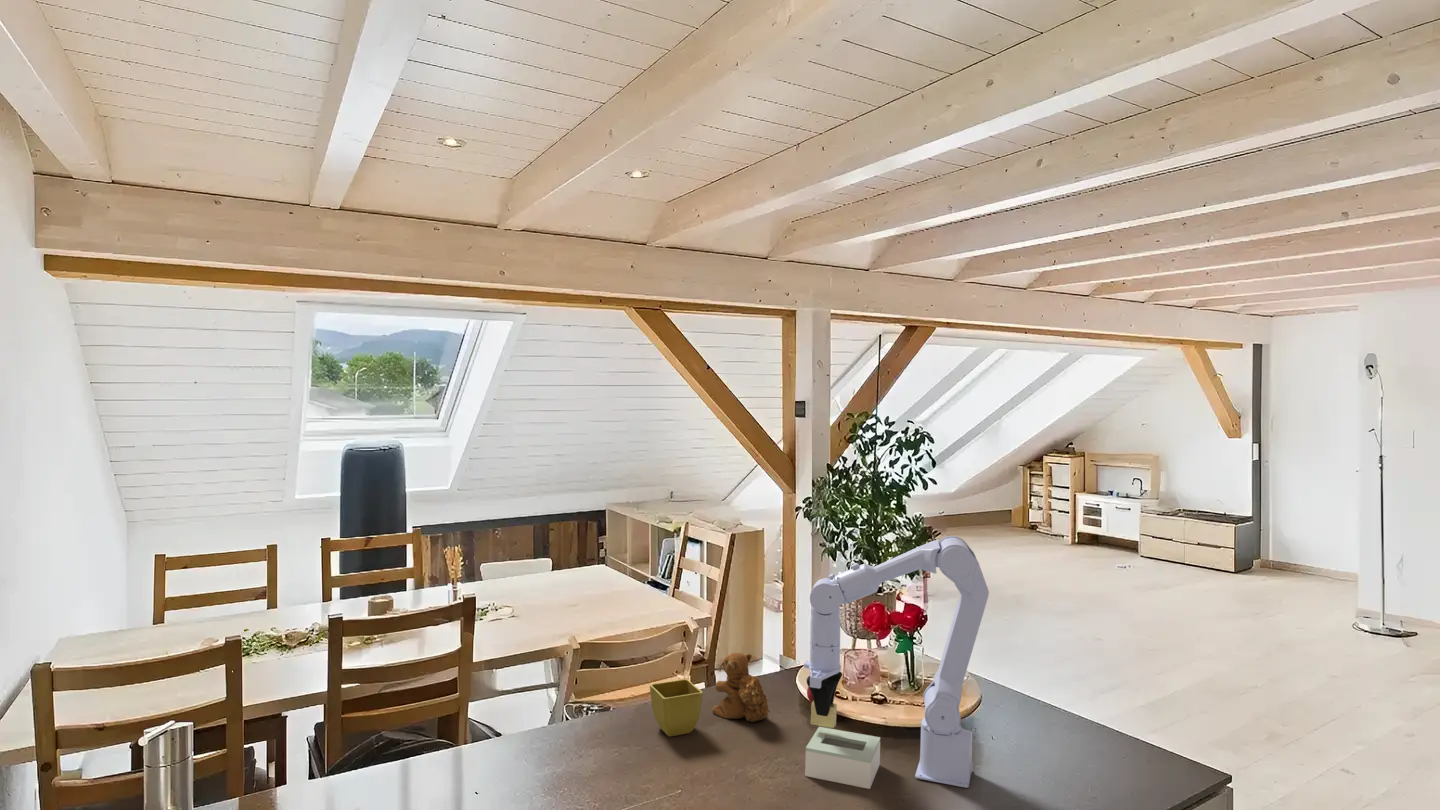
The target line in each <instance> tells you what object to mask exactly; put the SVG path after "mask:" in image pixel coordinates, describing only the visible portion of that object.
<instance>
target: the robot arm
mask: <svg viewBox="0 0 1440 810" xmlns="http://www.w3.org/2000/svg"><path fill="white" fill-rule="evenodd" d="M937 568H939V570H940V572H941V573H942V574H943V575H944V576H945V577H946V578H947V579H948V580H949V581H951V582H952V583H953V584H954V586H955V587H956V589H957V590H958V592H959V597H958V601H957V604H956V607H955V610H954V615H953V618H952V621H951V625H950V628H949V632H948V635H947V638H946V642H945V644H944V649H943V652H942V656H941V659H940V662H939V666H938V668H937V670H936V672H935V674H934V676H933V679H932V681H931V683H930V684H929V685H928V686H927V687H926V689H925V690H924V692H923V695H922V696H923V697H922V698H923V699H922V701H923V703H924V717H923V718H922V719H921V721H920V744H919V745H920V750H919V751H920V753H919V762H918V764H917V768H916V771H915V775H914V778H916V779H918V780H924V781H929V782H933V783H939V784H945V785H949V786H956V787H960V788H966V789H967V788H969V787H970V781H971V776H972V773H973V768H974V767H973V766H974V762H973V761H972V756H973V731H971V730H969V729H968V730H967V729H964V728H963V727H962V725H961V720H962V719H961V712H960V704H961V702H962V701H961V700H962V693H963V685H964V684H963V683H964V680H965V676H966V673H967V670H968V667H969V663H970V659H971V657H972V653H973V649H974V646H975V643H976V640H977V635H978V633H979V628H980V625H981V622H982V618H983V617H984V616H983V615H984V613H985V608H986V606H987V601H988V599H989V594H990V592H989V589H988V586H987V581H986V580H985V576H984V575H983V572H982V569H981V566H980V562H979V560H978V559H977V557H976V555H975V552H974V551H973V550H972V548H971V547H970V546H969V544H968V543H967V542H966V541H965V540H964V539H962V538H961V537H959V536H955V535H949V536H944V537H943V538H942V539H940V540H938V539H935V540H932V541H929V542H926V543H924V544H922V545H920V546H917V547H915V548H913V549H911V550H909V551H906V552H904V553H902V554H899V555H897V556H895V557H892V558H890V559H889V560H886V561H884V562H882V563H879V564H878V565H875V566H874V565H870V564H867V563H863V564H859V562H855V563H854V564H852V565H851V568H850V569H848V570H845V571H842V572H840V573H838V574H836V575H835V573H830V574H829V575H828V577H824V578H821V579H819V580H817V581H816V582H815V583H814V585H813V587H812V589H811V591H810V595H809V603H810V605H811V609H810V610H811V611H810V613H811V617H810V630H809V631H810V632H809V635H810V636H809V637H810V639H809V642H810V643H809V645H810V647H809V660H806V661H804V663H803V668H806V669H808V670H809V674H810V675H808V676H807V678H806V685H807V687H808V686H809V688H810V690H811V693H812V696H813V699H814V704H815V709H816V713H817V715H821V716H828V713H829V709H830V703H834V701H835V696H836V692H837V689H838V688H837V687H838V685H839V682H840V680H841V679H842V677H843V672H842V671H841V670H842V667H841V618H840V607H841V605H847V604H850V603H853V602H855V601H857V600H860V599H863V598H865V597H867V596H870V595H874V594H875V593H878V590H879V588H880V585H881V584H882V583H885V582H887V581H888V582H889V581H890V580H893V579H897V578H899V577H902V576H905V575H907V574H908V575H909V574H911V573H914V572H916V571H920V570H921V571H925V572H928V573H932V574H937Z"/></svg>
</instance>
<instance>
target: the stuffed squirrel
mask: <svg viewBox="0 0 1440 810" xmlns="http://www.w3.org/2000/svg"><path fill="white" fill-rule="evenodd" d="M752 658H753V655H752V653H746V654H744V653H741V652H733V653H730V654H728V655H727V656H725V657H724V659H723V661H722V662H721V664H720V665H719V668H718V669H717V671H718V672H719V673H721V669H722V667H723V671H724V672H725V673H726V680H718V681H717V682H715V686H714V687H715V691H717V692H719V693H726V695H725V698H724V699H722V700H721V701H720V704H718V705H715V706H712V709H711V712H712V713H713V714H714V715H716V716H719V717H721V718H724V719H727V720H729V719H730V720H739V719H744V720H745V721H747V722H751V723H755V722H757V721H758V722H759V721H761V720H764V719H766V717H767V716H768V714H769V713H770V712H771V711H770V709H769V705H768V699H767V695H766V694H765V693H764V691H765V690H763V686H762V685H761V682H760V679H759V678H758V676H754V675H751V674H750V671H749V663H750V661H751V659H752Z"/></svg>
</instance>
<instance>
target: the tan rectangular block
mask: <svg viewBox="0 0 1440 810" xmlns="http://www.w3.org/2000/svg"><path fill="white" fill-rule="evenodd" d="M837 705H838V704H837V703H834V702H833V703H830V709H829V713H828V716H821V715H817V713H816V709H815V704H814V701H813V702H812V703H810V725H813V726H818V727H824V728H830V729H835V727H836V726H837Z"/></svg>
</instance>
